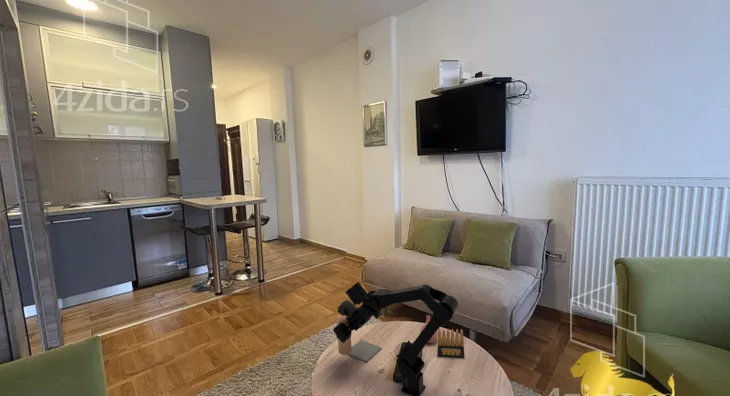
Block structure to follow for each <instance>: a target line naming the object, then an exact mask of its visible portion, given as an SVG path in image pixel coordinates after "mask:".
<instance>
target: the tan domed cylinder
mask: <svg viewBox="0 0 730 396" xmlns="http://www.w3.org/2000/svg"><path fill="white" fill-rule="evenodd" d="M346 317H347V316H340V317H338V318H337V319H336V326H337V325H338V324H339V323H341V322H342V323H344V324H345V325H346V326H348V325H347V322H348V321H347V320H346V319H345V318H346ZM349 329H350V328H349ZM337 346H338V347H337V348H338V353H339V354H340V355H343V356H345V355H347V354H349V353H351V351H352V336H351V337H350V338H349V339H347V340H346V341H345V342H344V343H342V342H341V341H340V340H339V339H338V338H337ZM347 356H348V355H347Z"/></svg>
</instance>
